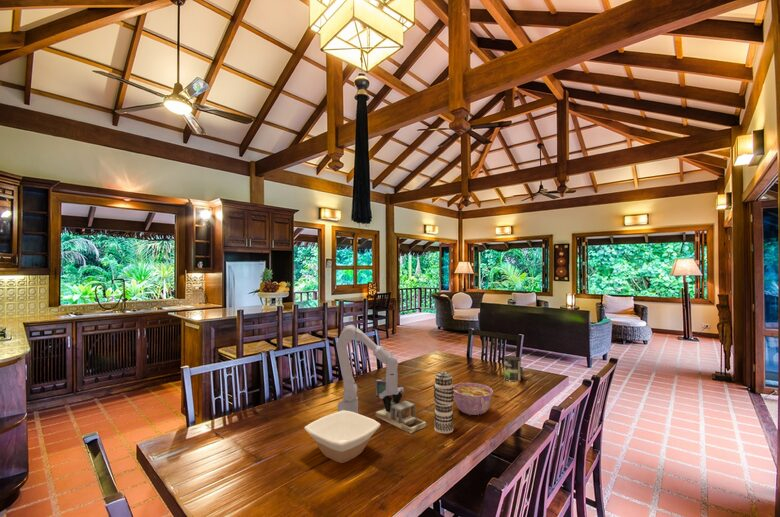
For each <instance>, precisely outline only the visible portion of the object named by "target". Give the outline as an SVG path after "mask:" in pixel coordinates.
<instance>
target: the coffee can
mask: <svg viewBox="0 0 780 517" xmlns="http://www.w3.org/2000/svg"><path fill="white" fill-rule="evenodd" d="M505 379H506V380H509V381H508V382H510V381H519V380H520V381H521V357H520V356H516V355H505V356H503V380H505ZM506 380H505V381H506ZM520 381H519V382H520Z"/></svg>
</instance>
